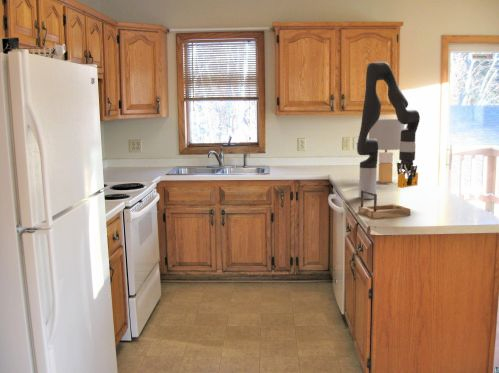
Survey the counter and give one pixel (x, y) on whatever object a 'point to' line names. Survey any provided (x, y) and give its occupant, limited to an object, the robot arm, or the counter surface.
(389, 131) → the lamp
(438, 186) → the counter surface
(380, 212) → the wooden tray
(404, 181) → the pipe clamp
